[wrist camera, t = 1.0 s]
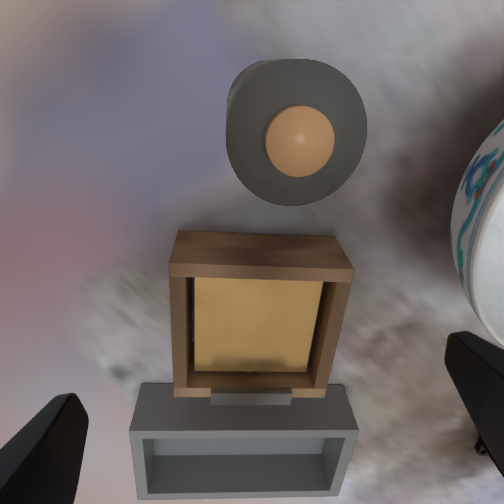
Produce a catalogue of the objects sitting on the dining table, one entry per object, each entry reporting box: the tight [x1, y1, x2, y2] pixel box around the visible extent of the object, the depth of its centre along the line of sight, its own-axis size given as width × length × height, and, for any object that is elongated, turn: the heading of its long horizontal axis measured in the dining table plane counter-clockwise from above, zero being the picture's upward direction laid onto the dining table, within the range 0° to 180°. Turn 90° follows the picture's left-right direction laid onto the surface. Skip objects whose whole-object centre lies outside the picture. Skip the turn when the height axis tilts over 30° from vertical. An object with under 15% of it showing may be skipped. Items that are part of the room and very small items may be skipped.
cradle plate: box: [195, 277, 323, 372], centre depth 22 cm, size 7×7×1 cm
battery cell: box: [226, 59, 367, 206], centre depth 15 cm, size 4×4×9 cm
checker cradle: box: [169, 230, 354, 405], centre depth 22 cm, size 10×10×4 cm
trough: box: [129, 383, 359, 500], centre depth 28 cm, size 16×8×4 cm, turn 86°
